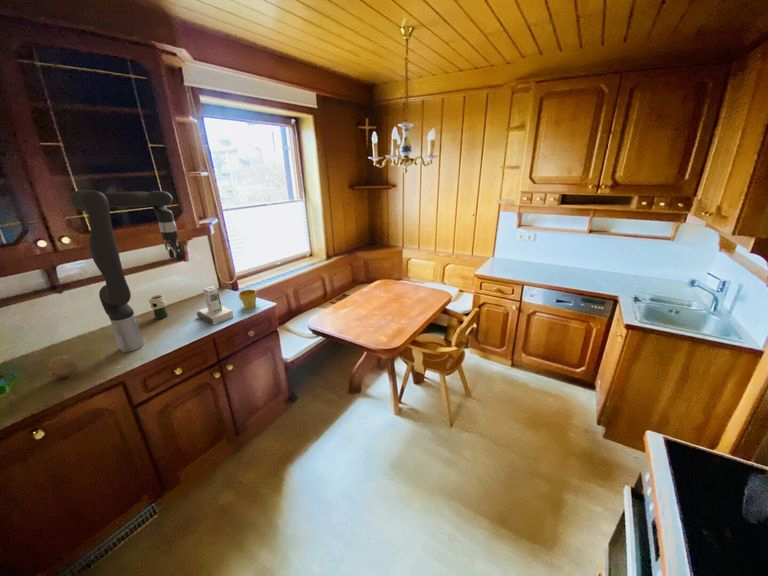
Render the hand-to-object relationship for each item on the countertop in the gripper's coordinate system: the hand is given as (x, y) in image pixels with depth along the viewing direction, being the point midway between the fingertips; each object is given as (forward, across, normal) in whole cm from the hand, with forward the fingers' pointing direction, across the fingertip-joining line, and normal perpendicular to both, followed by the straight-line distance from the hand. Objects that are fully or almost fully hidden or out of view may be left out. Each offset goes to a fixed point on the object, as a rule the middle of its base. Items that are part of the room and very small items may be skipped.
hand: (175, 259), depth 173 cm
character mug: (+36, -14, -10) cm, 40 cm away
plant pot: (+36, +14, +30) cm, 49 cm away
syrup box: (+32, +11, +10) cm, 35 cm away
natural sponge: (+36, +15, -57) cm, 69 cm away
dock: (+36, +11, +10) cm, 39 cm away
